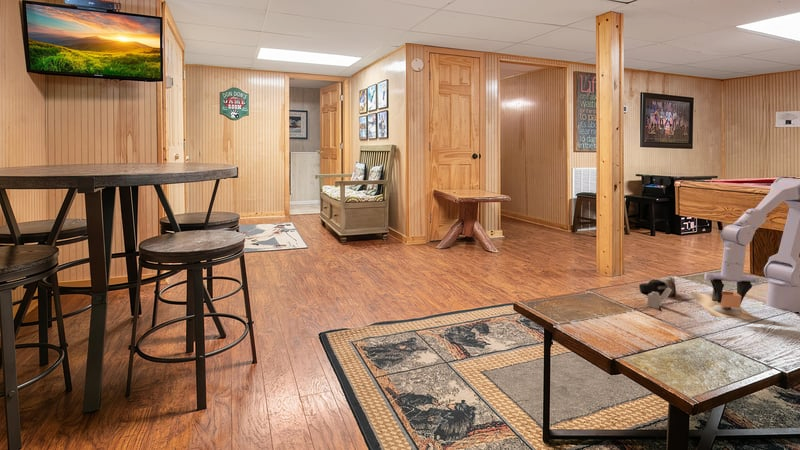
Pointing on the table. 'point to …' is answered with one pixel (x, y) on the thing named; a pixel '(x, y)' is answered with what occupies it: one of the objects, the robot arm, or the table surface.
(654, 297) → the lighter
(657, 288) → the caster wheel
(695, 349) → the table surface
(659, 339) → the table surface
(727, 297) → the collar
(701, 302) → the board
